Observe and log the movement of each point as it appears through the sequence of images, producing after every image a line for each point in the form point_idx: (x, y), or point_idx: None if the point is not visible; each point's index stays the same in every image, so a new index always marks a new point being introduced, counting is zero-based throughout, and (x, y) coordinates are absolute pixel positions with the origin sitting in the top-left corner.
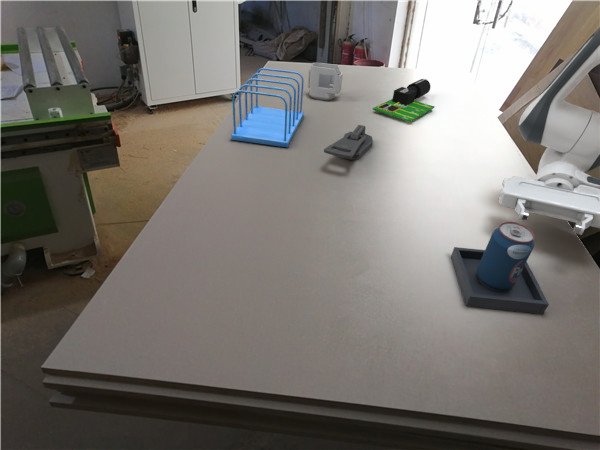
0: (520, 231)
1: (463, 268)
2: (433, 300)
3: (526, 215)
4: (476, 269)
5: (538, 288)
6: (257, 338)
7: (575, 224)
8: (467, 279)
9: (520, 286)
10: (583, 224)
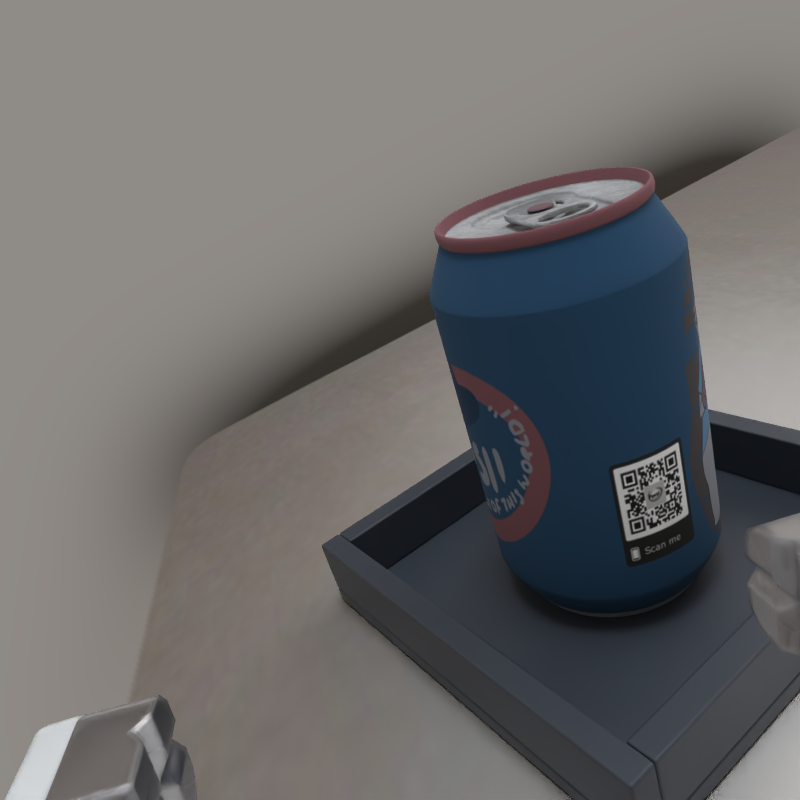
0: (526, 216)
1: (724, 419)
2: None
3: (772, 524)
4: (731, 543)
5: (387, 580)
6: (775, 185)
7: (153, 797)
8: None
9: (488, 628)
10: (38, 772)
